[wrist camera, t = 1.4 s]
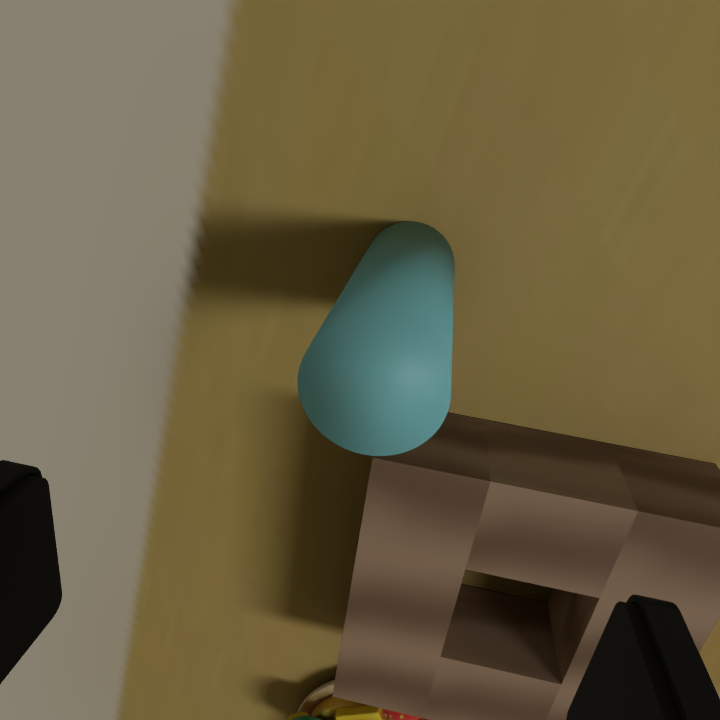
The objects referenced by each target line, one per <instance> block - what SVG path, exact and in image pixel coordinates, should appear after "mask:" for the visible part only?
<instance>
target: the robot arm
mask: <svg viewBox="0 0 720 720" xmlns="http://www.w3.org/2000/svg"><path fill="white" fill-rule="evenodd" d="M61 598H62V589H61V581H60V573H59V565H58V556H57V548H56V540H55V532H54V524H53V516H52V508H51V499H50V491H49V484H48V481H47V480H46V479H45V478H42V475H41V472H40V470H39V469H38V468H36V467H33V466H28V465H24V464H19V463H14V462H10V461H5V460H2V461H0V684H1V682H2V681H3V680H4V679H5V677H6V676H7V675H8V674H9V672H10V671H11V670H12V668H13V667H14V666H15V665H16V664H17V662H18V661H19V660H20V658H21V657H22V656H23V655H24V653H25V652H26V651H27V650H28V648H29V647H30V646H31V645H32V643H33V642H34V641H35V640H36V638H37V637H38V636H39V634H40V633H41V632H42V630H43V629H44V628H45V627H46V625H47V624H48V623H49V622H50V621H51V619H52V618H53V617H54V615H55V614H56V612H57V610H58V608H59V605H60V603H61ZM566 720H720V699H719V696H718V694H717V692H716V690H715V687H714V685H713V683H712V681H711V679H710V676H709V674H708V672H707V670H706V667H705V665H704V663H703V661H702V658H701V656H700V654H699V652H698V649H697V647H696V645H695V643H694V641H693V638H692V636H691V634H690V632H689V629H688V627H687V625H686V623H685V620H684V618H683V616H682V614H681V612H680V610H679V608H678V607H677V605H675V604H674V603H673V602H669V601H664V600H659V599H655V598H650V597H645V596H641V595H634V594H633V595H632V596H630V597H629V599H628V600H627V602H621V601H619V602H617V603H616V605H615V606H614V609H613V611H612V613H611V615H610V618H609V620H608V622H607V624H606V627H605V629H604V631H603V633H602V636H601V638H600V640H599V642H598V644H597V647H596V649H595V651H594V653H593V656H592V658H591V660H590V662H589V665H588V667H587V669H586V671H585V674H584V676H583V678H582V680H581V683H580V685H579V687H578V689H577V692H576V694H575V696H574V698H573V701H572V703H571V705H570V707H569V710H568V713H567V718H566Z"/></svg>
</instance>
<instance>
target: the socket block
mask: <svg viewBox="0 0 720 720" xmlns="http://www.w3.org/2000/svg"><path fill="white" fill-rule="evenodd" d="M465 569H467V570H471V571H476V572H481V573H485V574H490V575H494V576H499V577H504V578H508V579H513V580H518V581H522V582H527V583H532V584H536V585H541V586H545V587H550V588H553V590H552V592H551V595H550V598H549V600H548V603H545V602H540V601H536V600H531V599H526V598H522V597H517V596H513V595H508V594H503V593H499V592H494V591H490V590H485V589H480V588H476V587H471V586H467V585H462V584H461V583H462V579H463V576H464V572H465ZM633 594H634V595H641V596H645V597H650V598H655V599H659V600H664V601H669V602H673V603H674V604H675V605H677V607H678V608H679V610H680V612H681V614H682V616H683V618H684V620H685V623H686V625H687V627H688V629H689V632H690V634H691V636H692V638H693V641H694V643H695V645H696V647H697V649H698V652H699V651H700V650H701V648H702V646H703V644H704V643H705V641H706V639H707V638H708V636H709V634H710V632H711V631H712V629H713V627H714V626H715V624H716V622H717V620H718V619H719V617H720V470H719V468H718V467H717V465H716V464H712V463H707V462H702V461H697V460H692V459H686V458H681V457H676V456H671V455H666V454H660V453H655V452H650V451H645V450H640V449H634V448H629V447H624V446H619V445H614V444H608V443H603V442H598V441H593V440H588V439H582V438H577V437H572V436H567V435H562V434H556V433H551V432H546V431H541V430H536V429H530V428H525V427H520V426H515V425H510V424H504V423H499V422H494V421H489V420H484V419H478V418H473V417H468V416H463V415H458V414H452V413H447V415H446V417H445V419H444V421H443V423H442V425H441V426H440V428H439V429H438V430H437V431H436V433H435V434H434V435H433V436H432V437H431V438H429V439H428V440H427V441H426V442H424V443H423V444H421V445H420V446H418V447H416V448H414V449H412V450H410V451H407V452H404V453H400V454H395V455H389V456H373V457H372V463H371V469H370V475H369V481H368V487H367V493H366V499H365V505H364V511H363V517H362V523H361V529H360V534H359V540H358V546H357V552H356V558H355V564H354V570H353V576H352V582H351V588H350V594H349V600H348V606H347V612H346V617H345V623H344V629H343V635H342V641H341V647H340V653H339V659H338V665H337V671H336V677H335V683H334V689H333V695H332V697H336V698H341V699H345V700H349V701H353V702H357V703H361V704H366V705H370V706H374V707H378V708H382V709H386V710H391V711H395V712H399V713H403V714H407V715H411V716H416V717H420V718H424V719H428V720H566V718H567V713H568V710H569V707H570V705H571V703H572V701H573V698H574V696H575V694H576V692H577V689H578V687H579V685H580V683H581V680H582V678H583V676H584V674H585V671H586V669H587V667H588V665H589V662H590V660H591V658H592V656H593V653H594V651H595V649H596V647H597V644H598V642H599V640H600V638H601V636H602V633H603V631H604V629H605V627H606V624H607V622H608V620H609V618H610V615H611V613H612V611H613V609H614V606H615V605H616V603H617V602H619V601H621V602H627V600H628V599H629V597H630V596H632V595H633Z"/></svg>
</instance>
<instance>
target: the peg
mask: <svg viewBox="0 0 720 720" xmlns="http://www.w3.org/2000/svg"><path fill="white" fill-rule="evenodd" d="M453 301H454V256H453V253H452V250H451V247H450V245H449V244H448V242H447V240H446V239H445V238H444V237H443V235H441V234H440V233H439V232H438V231H437V230H435V229H434V228H432V227H430V226H429V225H426V224H423V223H419V222H413V221H406V222H399V223H396V224H393V225H391V226H389V227H387V228H385V229H384V230H382V231H381V232H380V233H379V234H378V235H377V236H376V237H375V238H374V239H373V241H372V242H371V244H370V246H369V247H368V249H367V251H366V252H365V254H364V256H363V257H362V259H361V261H360V262H359V264H358V266H357V267H356V269H355V271H354V272H353V274H352V276H351V277H350V279H349V281H348V282H347V284H346V286H345V287H344V289H343V291H342V292H341V294H340V296H339V297H338V299H337V301H336V303H335V304H334V306H333V308H332V309H331V311H330V313H329V314H328V316H327V318H326V319H325V321H324V323H323V324H322V326H321V328H320V329H319V331H318V333H317V334H316V336H315V338H314V339H313V341H312V343H311V344H310V346H309V348H308V349H307V351H306V353H305V355H304V357H303V359H302V362H301V365H300V368H299V373H298V392H299V397H300V401H301V404H302V406H303V409H304V411H305V413H306V415H307V416H308V418H309V420H310V421H311V422H312V424H313V425H314V426H315V427H316V428H317V429H318V431H319V432H320V433H321V434H323V435H324V436H325V437H326V438H327V439H329V440H330V441H332V442H333V443H335V444H336V445H338V446H340V447H342V448H344V449H347V450H350V451H352V452H356V453H359V454H364V455H371V456H389V455H395V454H400V453H404V452H407V451H410V450H412V449H414V448H416V447H418V446H420V445H421V444H423V443H424V442H426V441H427V440H428V439H429V438H431V437H432V436H433V435H434V434H435V433H436V431H437V430H438V429H439V428H440V426H441V425H442V423H443V421H444V419H445V417H446V415H447V412H448V409H449V406H450V400H451V375H452V338H453Z"/></svg>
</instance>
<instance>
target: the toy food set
mask: <svg viewBox="0 0 720 720" xmlns="http://www.w3.org/2000/svg"><path fill="white" fill-rule="evenodd" d="M334 683H335V680H332V681H330V682H327V683H325V684H323V685H322V686H320V687H318V688H317V689H315V690H314V691H313V692H311V693H310V694H309V695H308V696H307V697H306V698H305V699H304V701H303V702H302V704H301V705H300V707H299V710H298V712H297V713H295V714H291V715H289V717H288V720H428V719H424V718H420V717H416V716H411V715H407V714H403V713H399V712H395V711H391V710H386V709H382V708H378V707H374V706H370V705H366V704H361V703H357V702H353V701H349V700H345V699H341V698H336V697H332V695H333V689H334Z"/></svg>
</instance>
